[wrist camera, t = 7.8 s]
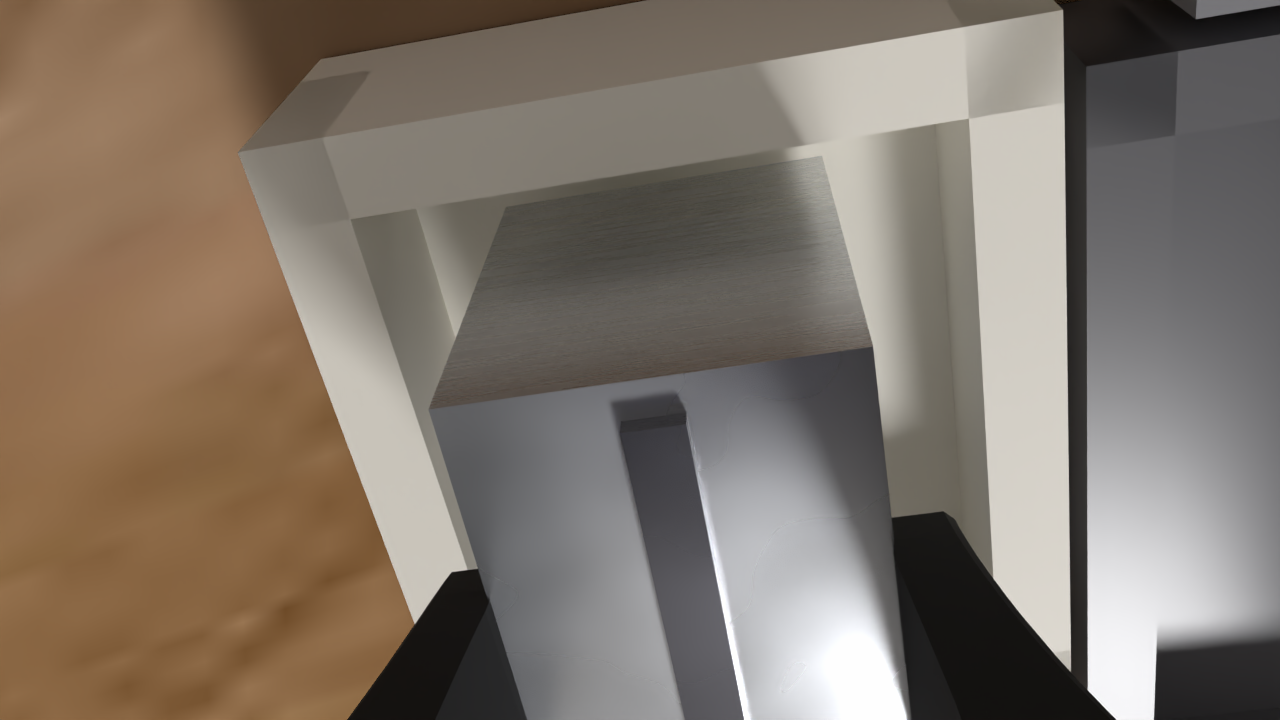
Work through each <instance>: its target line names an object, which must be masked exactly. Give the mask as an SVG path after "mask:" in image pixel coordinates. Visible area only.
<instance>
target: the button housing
mask: <svg viewBox="0 0 1280 720" xmlns="http://www.w3.org/2000/svg"><path fill="white" fill-rule="evenodd" d="M1171 1H1172V2H1174V3H1175V4H1176V5H1178V6H1179V7H1180V8H1182V9H1183V10H1184V11H1186V12H1187V13H1188V14H1190V15H1191V16H1192V17H1194V18H1195V19H1201V18H1206V17H1212V16H1218V15H1224V14H1230V13H1236V12H1242V11H1248V10H1254V9H1260V8H1266V7H1271V6H1277V5H1280V0H1171Z"/></svg>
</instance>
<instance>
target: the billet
mask: <svg viewBox="0 0 1280 720" xmlns="http://www.w3.org/2000/svg"><path fill="white" fill-rule="evenodd" d="M428 410H429V413H430V416H431V420H432V423H433V426H434V429H435V433H436V436H437V439H438V442H439V445H440V449H441V452H442V455H443V458H444V461H445V465H446V468H447V471H448V474H449V477H450V481H451V484H452V487H453V490H454V493H455V497H456V500H457V503H458V506H459V509H460V513H461V516H462V519H463V522H464V525H465V529H466V532H467V535H468V538H469V542H470V545H471V548H472V551H473V554H474V558H475V561H476V564H477V567H478V570H479V574H480V577H481V580H482V583H483V586H484V590H485V593H486V596H487V599H488V600H490V602H491V605H492V609H493V612H494V615H495V618H496V621H497V625H498V628H499V631H500V634H501V637H502V641H503V644H504V647H505V650H506V654H507V657H508V660H509V663H510V666H511V670H512V673H513V676H514V679H515V682H516V686H517V689H518V692H519V695H520V699H521V702H522V705H523V708H524V711H525V715H526V718H527V720H912V718H911V709H910V700H909V690H908V681H907V672H906V663H905V654H904V645H903V636H902V626H901V617H900V608H899V599H898V590H897V581H896V572H895V562H894V553H893V551H895V544H894V534H893V525H892V516H891V507H890V497H889V488H888V479H887V470H886V460H885V451H884V442H883V433H882V423H881V414H880V405H879V396H878V386H877V377H876V368H875V359H874V349H873V344H872V340H871V337H870V333H869V329H868V325H867V322H866V318H865V314H864V311H863V307H862V303H861V299H860V296H859V292H858V288H857V284H856V281H855V277H854V273H853V270H852V266H851V262H850V258H849V255H848V251H847V247H846V244H845V240H844V236H843V232H842V229H841V225H840V221H839V217H838V214H837V210H836V206H835V203H834V199H833V195H832V191H831V188H830V184H829V180H828V177H827V173H826V169H825V165H824V162H823V158H822V156H817V157H811V158H805V159H799V160H792V161H786V162H780V163H774V164H768V165H762V166H755V167H749V168H743V169H737V170H731V171H725V172H718V173H712V174H706V175H700V176H694V177H688V178H681V179H675V180H669V181H663V182H657V183H651V184H644V185H638V186H632V187H626V188H620V189H613V190H607V191H601V192H595V193H589V194H583V195H576V196H570V197H564V198H558V199H552V200H546V201H539V202H533V203H527V204H521V205H515V206H509V207H506V208H505V211H504V213H503V216H502V219H501V221H500V224H499V226H498V229H497V232H496V234H495V237H494V240H493V242H492V245H491V247H490V250H489V253H488V255H487V258H486V260H485V263H484V266H483V268H482V271H481V273H480V276H479V279H478V281H477V284H476V286H475V289H474V292H473V294H472V297H471V300H470V302H469V305H468V307H467V310H466V313H465V315H464V318H463V320H462V323H461V326H460V328H459V331H458V333H457V336H456V339H455V341H454V344H453V347H452V349H451V352H450V354H449V357H448V360H447V362H446V365H445V367H444V370H443V373H442V375H441V378H440V380H439V383H438V386H437V388H436V391H435V393H434V396H433V399H432V401H431V404H430V407H429V409H428Z"/></svg>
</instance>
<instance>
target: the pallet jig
mask: <svg viewBox="0 0 1280 720" xmlns="http://www.w3.org/2000/svg"><path fill="white" fill-rule="evenodd" d="M238 154H239V157H240V159H241V162H242V165H243V167H244V170H245V173H246V175H247V178H248V181H249V183H250V186H251V189H252V191H253V194H254V197H255V199H256V202H257V205H258V207H259V210H260V213H261V215H262V218H263V221H264V223H265V226H266V229H267V231H268V234H269V237H270V239H271V242H272V245H273V247H274V250H275V253H276V255H277V258H278V261H279V263H280V266H281V269H282V271H283V274H284V277H285V279H286V282H287V285H288V287H289V290H290V293H291V295H292V298H293V301H294V303H295V306H296V309H297V311H298V314H299V317H300V319H301V322H302V325H303V327H304V330H305V333H306V335H307V338H308V341H309V343H310V346H311V349H312V351H313V354H314V357H315V359H316V362H317V365H318V367H319V370H320V373H321V375H322V378H323V381H324V383H325V386H326V389H327V391H328V394H329V397H330V399H331V402H332V405H333V407H334V410H335V413H336V415H337V418H338V421H339V423H340V426H341V429H342V431H343V434H344V437H345V439H346V442H347V445H348V447H349V450H350V453H351V455H352V458H353V461H354V463H355V466H356V469H357V471H358V474H359V477H360V479H361V482H362V485H363V487H364V490H365V493H366V495H367V498H368V501H369V503H370V506H371V509H372V511H373V514H374V517H375V519H376V522H377V525H378V527H379V530H380V533H381V535H382V538H383V541H384V543H385V546H386V549H387V551H388V554H389V557H390V559H391V562H392V565H393V567H394V570H395V573H396V575H397V578H398V581H399V583H400V586H401V589H402V591H403V594H404V597H405V599H406V602H407V605H408V607H409V610H410V613H411V615H412V618H413V621H414V623H416V622H417V620H418V619H419V618H420V616H421V615H422V613H423V612H424V610H425V609H426V607H427V606H428V604H429V603H430V601H431V600H432V598H433V597H434V595H435V594H436V593H437V591H438V590H439V588H440V587H441V585H442V584H443V583H444V581H445V580H446V579H447V577H448V576H449V575H450V574H451V572H456V571H464V570H472V569H478V567H477V564H476V561H475V558H474V554H473V551H472V548H471V545H470V542H469V538H468V535H467V532H466V529H465V525H464V522H463V519H462V516H461V513H460V509H459V506H458V503H457V500H456V497H455V493H454V490H453V487H452V484H451V481H450V477H449V474H448V471H447V468H446V465H445V461H444V458H443V455H442V452H441V449H440V445H439V442H438V439H437V436H436V433H435V429H434V426H433V423H432V420H431V416H430V413H429V410H428V409H429V407H430V404H431V401H432V399H433V396H434V393H435V391H436V388H437V386H438V383H439V380H440V378H441V375H442V373H443V370H444V367H445V365H446V362H447V360H448V357H449V354H450V352H451V349H452V347H453V344H454V341H455V339H456V336H457V333H458V331H459V328H460V326H461V323H462V320H463V318H464V315H465V313H466V310H467V307H468V305H469V302H470V300H471V297H472V294H473V292H474V289H475V286H476V284H477V281H478V279H479V276H480V273H481V271H482V268H483V266H484V263H485V260H486V258H487V255H488V253H489V250H490V247H491V245H492V242H493V240H494V237H495V234H496V232H497V229H498V226H499V224H500V221H501V219H502V216H503V213H504V211H505V208H506V207H509V206H515V205H521V204H527V203H533V202H539V201H546V200H552V199H558V198H564V197H570V196H576V195H583V194H589V193H595V192H601V191H607V190H613V189H620V188H626V187H632V186H638V185H644V184H651V183H657V182H663V181H669V180H675V179H681V178H688V177H694V176H700V175H706V174H712V173H718V172H725V171H731V170H737V169H743V168H749V167H755V166H762V165H768V164H774V163H780V162H786V161H792V160H799V159H805V158H811V157H817V156H822V158H823V162H824V165H825V169H826V173H827V177H828V180H829V184H830V188H831V191H832V195H833V199H834V203H835V206H836V210H837V214H838V217H839V221H840V225H841V229H842V232H843V236H844V240H845V244H846V247H847V251H848V255H849V258H850V262H851V266H852V270H853V273H854V277H855V281H856V284H857V288H858V292H859V296H860V299H861V303H862V307H863V311H864V314H865V318H866V322H867V325H868V329H869V333H870V337H871V340H872V344H873V349H874V359H875V368H876V377H877V386H878V396H879V405H880V414H881V423H882V433H883V442H884V451H885V460H886V470H887V479H888V488H889V497H890V507H891V516H892V518H893V517H901V516H909V515H917V514H925V513H933V512H941V511H944V512H945V513H947V514H948V515H950V516H951V517H953V518H954V519H955V520H956V522H957V524H958V526H959V528H960V529H961V531H962V533H963V534H964V536H965V538H966V539H967V541H968V542H969V544H970V546H971V547H972V549H973V550H974V552H975V553H976V555H977V556H978V558H979V559H980V561H981V562H982V563H983V565H984V566H985V568H986V569H987V571H988V572H989V573H990V575H991V576H992V577H993V579H994V580H995V581H996V583H997V584H998V585H999V587H1000V588H1001V589H1002V591H1003V592H1004V593H1005V595H1006V596H1007V597H1008V599H1009V600H1010V601H1011V602H1012V604H1013V605H1014V606H1015V608H1016V609H1017V610H1018V611H1019V613H1020V614H1021V615H1022V616H1023V617H1024V619H1025V620H1026V621H1027V622H1028V623H1029V625H1030V626H1031V627H1032V628H1033V629H1034V630H1035V632H1036V633H1037V634H1038V635H1039V636H1040V638H1041V639H1042V640H1043V641H1044V642H1045V643H1046V645H1047V646H1048V647H1049V648H1050V649H1051V651H1052V652H1053V653H1054V654H1055V655H1056V656H1057V657H1058V659H1059V660H1060V661H1061V662H1062V663H1063V664H1064V665H1065V666H1066V667H1067V669H1068V670H1069V671H1070V672H1071V624H1070V540H1069V455H1068V371H1067V287H1066V203H1065V119H1064V35H1063V9H1062V8H1061V7H1060V6H1059V5H1058V4H1057V3H1056V2H1055V1H1054V0H646V1H640V2H635V3H629V4H624V5H618V6H613V7H607V8H601V9H596V10H590V11H585V12H579V13H574V14H568V15H563V16H557V17H552V18H546V19H541V20H535V21H530V22H524V23H519V24H513V25H508V26H502V27H497V28H491V29H486V30H480V31H475V32H469V33H463V34H458V35H452V36H447V37H441V38H436V39H430V40H425V41H419V42H414V43H408V44H403V45H397V46H392V47H386V48H381V49H375V50H370V51H364V52H359V53H353V54H348V55H342V56H337V57H331V58H326V59H320V61H319V62H318V63H317V64H316V65H315V66H314V67H313V68H312V70H311V71H310V72H309V73H308V74H307V75H306V76H305V77H304V79H303V80H302V81H301V82H300V83H299V84H298V85H297V86H296V88H295V89H294V90H293V91H292V92H291V93H290V94H289V95H288V97H287V98H286V99H285V100H284V101H283V102H282V103H281V104H280V106H279V107H278V108H277V109H276V110H275V111H274V112H273V113H272V115H271V116H270V117H269V118H268V119H267V120H266V121H265V122H264V124H263V125H262V126H261V127H260V128H259V129H258V130H257V131H256V133H255V134H254V135H253V136H252V137H251V138H250V139H249V140H248V142H247V143H246V144H245V145H244V146H243V147H242V148H241V149H240V151H239V152H238Z"/></svg>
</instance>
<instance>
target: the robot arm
mask: <svg viewBox="0 0 1280 720" xmlns="http://www.w3.org/2000/svg"><path fill="white" fill-rule="evenodd" d="M892 525H893V534H894V544H895V551H893V553H894V562H895V572H896V581H897V590H898V599H899V608H900V617H901V626H902V636H903V645H904V654H905V663H906V672H907V681H908V690H909V700H910V709H911V718H912V720H1116V719H1115V718H1114V717H1113V716H1112V715H1111V714H1110V713H1109V712H1108V711H1107V710H1106V709H1105V708H1104V707H1103V706H1102V705H1101V703H1100V702H1099V701H1098V700H1097V699H1096V698H1095V697H1094V696H1093V695H1092V694H1091V693H1090V692H1089V691H1088V690H1087V689H1086V688H1085V687H1084V686H1083V685H1082V684H1081V683H1080V682H1079V681H1078V680H1077V678H1076V677H1075V676H1074V675H1073V674H1072V673H1071V672H1070V671H1069V670H1068V669H1067V667H1066V666H1065V665H1064V664H1063V663H1062V662H1061V661H1060V660H1059V659H1058V657H1057V656H1056V655H1055V654H1054V653H1053V652H1052V651H1051V649H1050V648H1049V647H1048V646H1047V645H1046V643H1045V642H1044V641H1043V640H1042V639H1041V638H1040V636H1039V635H1038V634H1037V633H1036V632H1035V630H1034V629H1033V628H1032V627H1031V626H1030V625H1029V623H1028V622H1027V621H1026V620H1025V619H1024V617H1023V616H1022V615H1021V614H1020V613H1019V611H1018V610H1017V609H1016V608H1015V606H1014V605H1013V604H1012V602H1011V601H1010V600H1009V599H1008V597H1007V596H1006V595H1005V593H1004V592H1003V591H1002V589H1001V588H1000V587H999V585H998V584H997V583H996V581H995V580H994V579H993V577H992V576H991V575H990V573H989V572H988V571H987V569H986V568H985V566H984V565H983V563H982V562H981V561H980V559H979V558H978V556H977V555H976V553H975V552H974V550H973V549H972V547H971V546H970V544H969V542H968V541H967V539H966V538H965V536H964V534H963V533H962V531H961V529H960V528H959V526H958V524H957V522H956V520H955V519H954V518H953V517H951V516H950V515H948V514H947V513H945V512H944V511H941V512H933V513H925V514H917V515H909V516H901V517H893V518H892ZM347 720H527V718H526V715H525V711H524V708H523V705H522V702H521V699H520V695H519V692H518V689H517V686H516V682H515V679H514V676H513V673H512V670H511V666H510V663H509V660H508V657H507V654H506V650H505V647H504V644H503V641H502V637H501V634H500V631H499V628H498V625H497V621H496V618H495V615H494V612H493V609H492V605H491V602H490V600H488V599H487V596H486V593H485V590H484V586H483V583H482V580H481V577H480V574H479V570H478V569H472V570H464V571H456V572H451V574H450V575H449V576H448V577H447V579H446V580H445V581H444V583H443V584H442V585H441V587H440V588H439V590H438V591H437V593H436V594H435V595H434V597H433V598H432V600H431V601H430V603H429V604H428V606H427V607H426V609H425V610H424V612H423V613H422V615H421V616H420V618H419V619H418V620H417V622H416V623H415V625H414V626H413V628H412V629H411V631H410V632H409V634H408V635H407V637H406V638H405V640H404V641H403V642H402V644H401V645H400V647H399V648H398V650H397V651H396V653H395V654H394V655H393V657H392V658H391V660H390V661H389V663H388V664H387V666H386V667H385V668H384V670H383V671H382V673H381V674H380V675H379V677H378V678H377V680H376V681H375V682H374V684H373V685H372V686H371V688H370V689H369V691H368V692H367V693H366V695H365V696H364V697H363V699H362V700H361V702H360V703H359V704H358V706H357V707H356V708H355V710H354V711H353V713H352V714H351V715H350V717H349V718H348V719H347Z"/></svg>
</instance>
